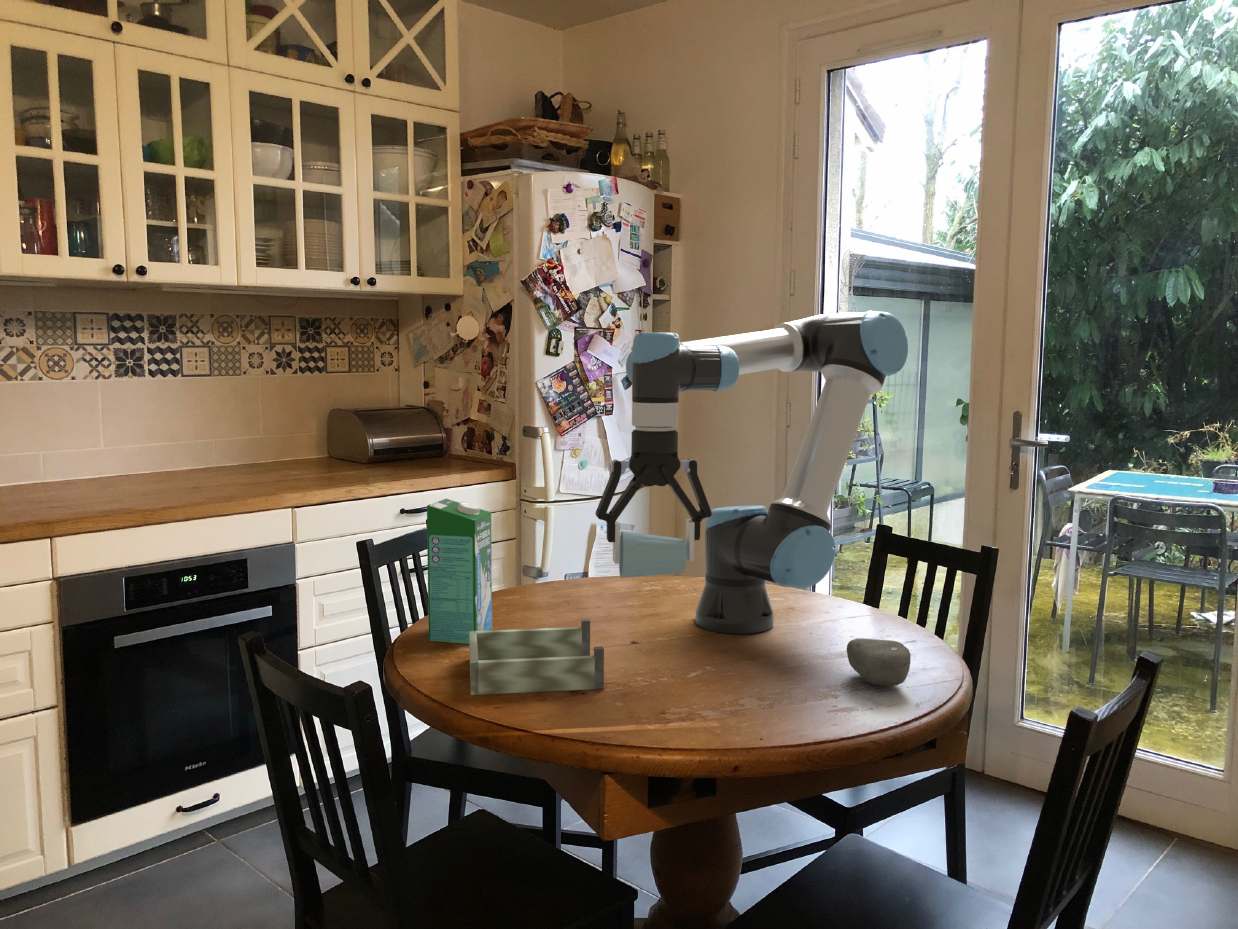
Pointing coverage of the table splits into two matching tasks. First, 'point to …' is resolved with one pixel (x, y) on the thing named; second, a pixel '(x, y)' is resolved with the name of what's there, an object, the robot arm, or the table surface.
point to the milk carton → (458, 570)
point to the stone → (879, 660)
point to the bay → (534, 660)
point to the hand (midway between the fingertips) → (653, 561)
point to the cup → (650, 555)
